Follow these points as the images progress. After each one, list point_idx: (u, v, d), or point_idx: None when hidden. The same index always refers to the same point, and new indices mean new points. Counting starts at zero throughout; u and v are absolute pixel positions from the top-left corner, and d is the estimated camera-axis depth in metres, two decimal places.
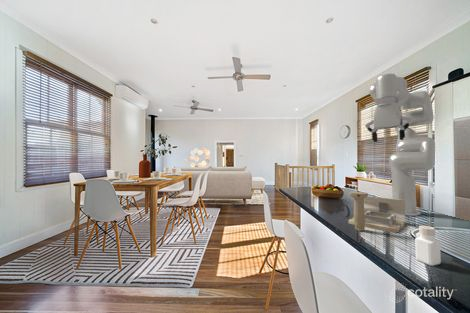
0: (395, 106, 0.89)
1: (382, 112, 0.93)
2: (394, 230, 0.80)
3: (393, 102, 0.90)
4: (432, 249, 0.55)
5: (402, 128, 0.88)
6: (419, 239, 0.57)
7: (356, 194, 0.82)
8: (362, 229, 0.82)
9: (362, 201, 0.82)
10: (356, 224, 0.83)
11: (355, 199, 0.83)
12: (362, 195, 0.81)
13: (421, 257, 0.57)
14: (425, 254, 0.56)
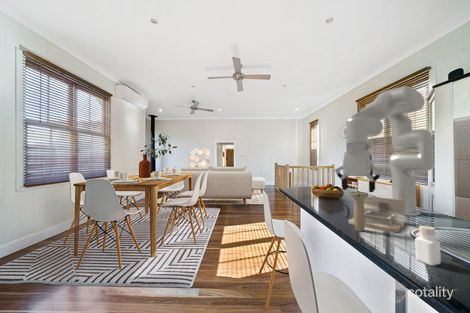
0: (365, 155, 0.80)
1: (351, 158, 0.83)
2: (394, 230, 0.80)
3: (362, 149, 0.80)
4: (432, 249, 0.55)
5: (372, 180, 0.79)
6: (419, 239, 0.57)
7: (356, 194, 0.82)
8: (362, 229, 0.82)
9: (362, 201, 0.82)
10: (356, 224, 0.83)
11: (355, 199, 0.83)
12: (362, 195, 0.81)
13: (421, 257, 0.57)
14: (425, 254, 0.56)
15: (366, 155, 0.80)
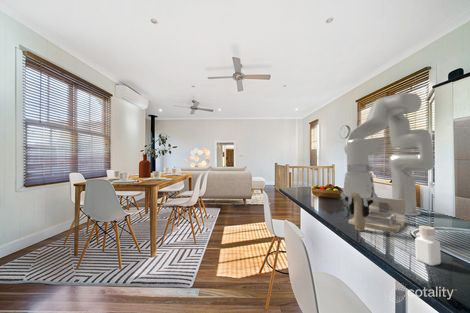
0: (366, 177, 0.80)
1: (352, 180, 0.83)
2: (394, 230, 0.80)
3: (363, 172, 0.80)
4: (432, 249, 0.55)
5: (366, 204, 0.81)
6: (419, 239, 0.57)
7: (356, 194, 0.82)
8: (362, 229, 0.82)
9: (362, 201, 0.82)
10: (356, 224, 0.83)
11: (355, 199, 0.83)
12: None
13: (421, 257, 0.57)
14: (425, 254, 0.56)
15: (367, 177, 0.80)
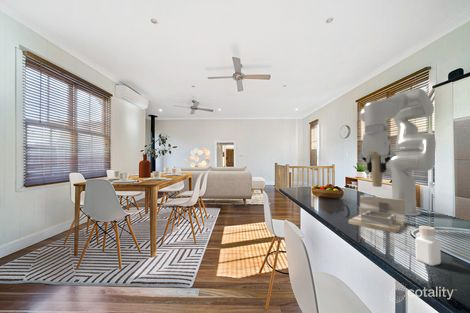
0: (383, 135, 0.86)
1: (370, 140, 0.90)
2: (394, 230, 0.80)
3: (381, 131, 0.87)
4: (432, 249, 0.55)
5: (383, 161, 0.87)
6: (419, 239, 0.57)
7: (374, 152, 0.89)
8: (380, 185, 0.89)
9: (380, 159, 0.89)
10: (374, 180, 0.89)
11: (373, 157, 0.90)
12: None
13: (421, 257, 0.57)
14: (425, 254, 0.56)
15: (385, 136, 0.86)
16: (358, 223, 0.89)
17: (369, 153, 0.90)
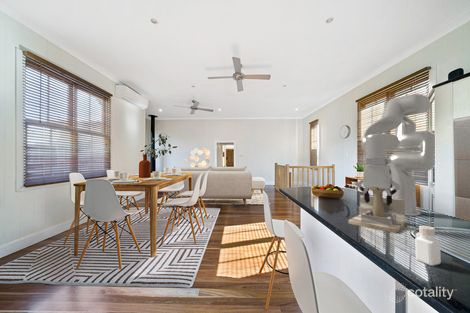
0: (385, 169, 0.86)
1: (371, 172, 0.89)
2: (394, 230, 0.80)
3: (382, 164, 0.86)
4: (432, 249, 0.55)
5: (389, 194, 0.86)
6: (419, 239, 0.57)
7: (376, 188, 0.88)
8: None
9: (381, 194, 0.88)
10: (375, 215, 0.89)
11: (374, 192, 0.89)
12: None
13: (421, 257, 0.57)
14: (425, 254, 0.56)
15: (386, 170, 0.86)
16: (358, 223, 0.89)
17: (371, 188, 0.90)
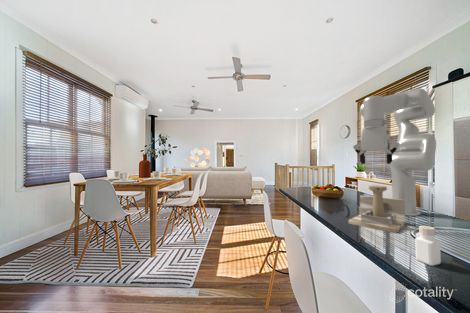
0: (382, 130, 0.87)
1: (369, 134, 0.91)
2: (394, 230, 0.80)
3: (380, 125, 0.88)
4: (432, 249, 0.55)
5: (389, 152, 0.86)
6: (419, 239, 0.57)
7: (376, 188, 0.88)
8: None
9: (381, 194, 0.88)
10: (375, 215, 0.89)
11: (374, 192, 0.89)
12: (381, 188, 0.87)
13: (421, 257, 0.57)
14: (425, 254, 0.56)
15: (384, 130, 0.87)
16: (358, 223, 0.89)
17: (371, 188, 0.90)
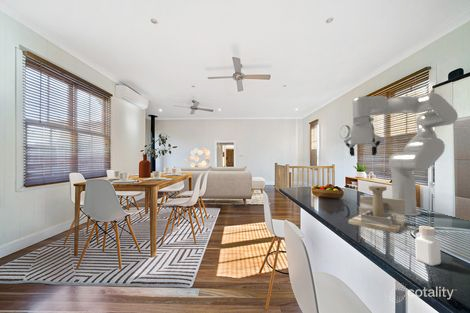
0: (368, 126, 1.01)
1: (357, 130, 1.05)
2: (394, 230, 0.80)
3: (366, 122, 1.01)
4: (432, 249, 0.55)
5: (374, 145, 1.00)
6: (419, 239, 0.57)
7: (375, 188, 0.88)
8: None
9: (381, 194, 0.88)
10: (375, 215, 0.89)
11: (374, 192, 0.89)
12: (381, 188, 0.87)
13: (421, 257, 0.57)
14: (425, 254, 0.56)
15: (369, 126, 1.01)
16: (358, 223, 0.89)
17: (370, 188, 0.90)
